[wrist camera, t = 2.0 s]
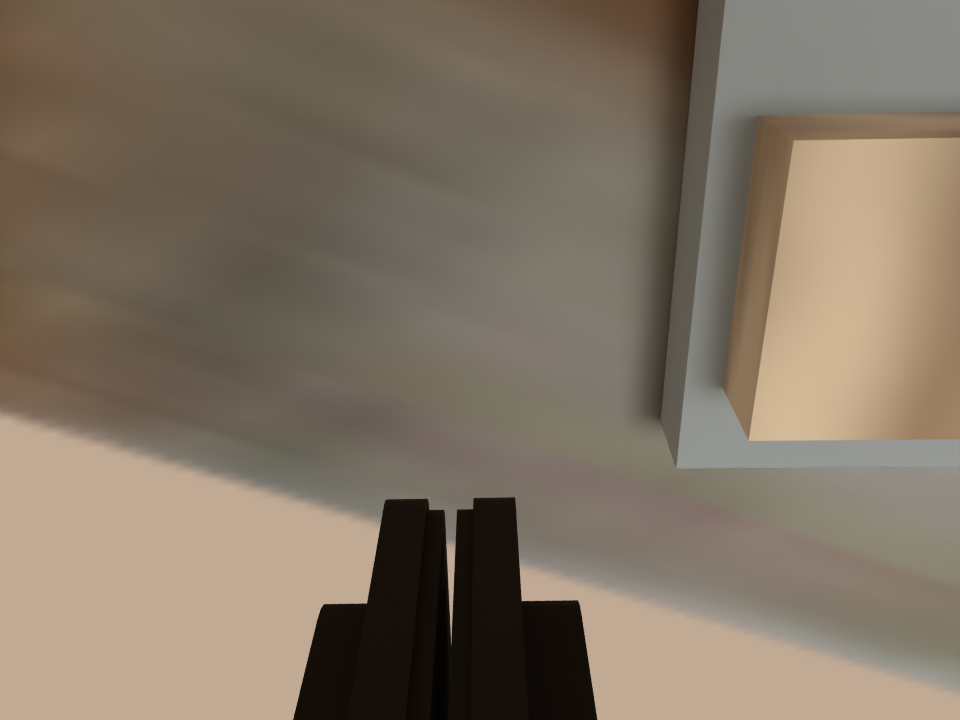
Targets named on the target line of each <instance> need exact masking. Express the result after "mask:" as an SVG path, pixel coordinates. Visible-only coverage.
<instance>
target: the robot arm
mask: <svg viewBox="0 0 960 720" xmlns="http://www.w3.org/2000/svg"><path fill="white" fill-rule="evenodd" d="M521 600H522V599H521V584H520V567H519V551H518V535H517V519H516V503H515V497H511V498H474V503H473V509H466V510H457V525H456V548H455V573H454V596H453V619H452V643H451V631H450V611H449V590H448V570H447V548H446V528H445V512H444V510H429V502H428V499H389V500H386V501H385V504H384V509H383V515H382V520H381V526H380V532H379V538H378V544H377V550H376V555H375V561H374V567H373V572H372V578H371V584H370V590H369V596H368V602H367V604H324V605H323V607H322V608H321V610H320V613H319V617H318V620H317V624H316V628H315V632H314V636H313V640H312V645H311V648H310V653H309V657H308V661H307V665H306V669H305V673H304V677H303V682H302V685H301V690H300V694H299V698H298V702H297V706H296V711H295V714H294V719H293V720H597V715H596V708H595V702H594V695H593V688H592V682H591V675H590V669H589V662H588V655H587V648H586V642H585V635H584V629H583V622H582V615H581V610H580V605H579V602H578V601H575V600H573V601H521Z"/></svg>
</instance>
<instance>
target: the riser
mask: <svg viewBox="0 0 960 720" xmlns="http://www.w3.org/2000/svg"><path fill="white" fill-rule="evenodd" d="M924 112H960V0H699V5H698V16H697V27H696V38H695V49H694V60H693V71H692V82H691V93H690V104H689V115H688V126H687V137H686V148H685V159H684V169H683V180H682V191H681V202H680V213H679V224H678V235H677V246H676V257H675V268H674V279H673V290H672V301H671V312H670V322H669V333H668V344H667V355H666V366H665V377H664V388H663V399H662V410H661V424H662V427H663V430H664V433H665V436H666V439H667V442H668V445H669V448H670V451H671V454H672V457H673V460H674V463H675V466H676V468H810V467H955V466H960V439H933V440H803V441H748V439H747V437H746V435H745V433H744V431H743V429H742V426H741V424H740V422H739V420H738V418H737V416H736V414H735V412H734V410H733V408H732V406H731V404H730V402H729V400H728V398H727V396H726V394H725V392H724V390H723V385H724V377H725V370H726V362H727V354H728V346H729V339H730V331H731V323H732V315H733V307H734V300H735V292H736V284H737V276H738V269H739V261H740V253H741V245H742V238H743V230H744V222H745V214H746V207H747V199H748V191H749V183H750V176H751V168H752V160H753V152H754V145H755V137H756V129H757V121H758V115H810V114H867V113H924Z"/></svg>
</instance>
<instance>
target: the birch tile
mask: <svg viewBox="0 0 960 720" xmlns="http://www.w3.org/2000/svg"><path fill="white" fill-rule="evenodd" d="M723 390H724V392H725V394H726V396H727V398H728V400H729V402H730V404H731V406H732V408H733V410H734V412H735V414H736V416H737V418H738V420H739V422H740V424H741V426H742V429H743V431H744V433H745V435H746V437H747V439H748V441H803V440H933V439H960V112H924V113H867V114H810V115H758V121H757V129H756V137H755V145H754V152H753V160H752V168H751V176H750V183H749V191H748V199H747V207H746V214H745V222H744V230H743V238H742V245H741V253H740V261H739V269H738V276H737V284H736V292H735V300H734V307H733V315H732V323H731V331H730V339H729V346H728V354H727V362H726V370H725V377H724V385H723Z"/></svg>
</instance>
